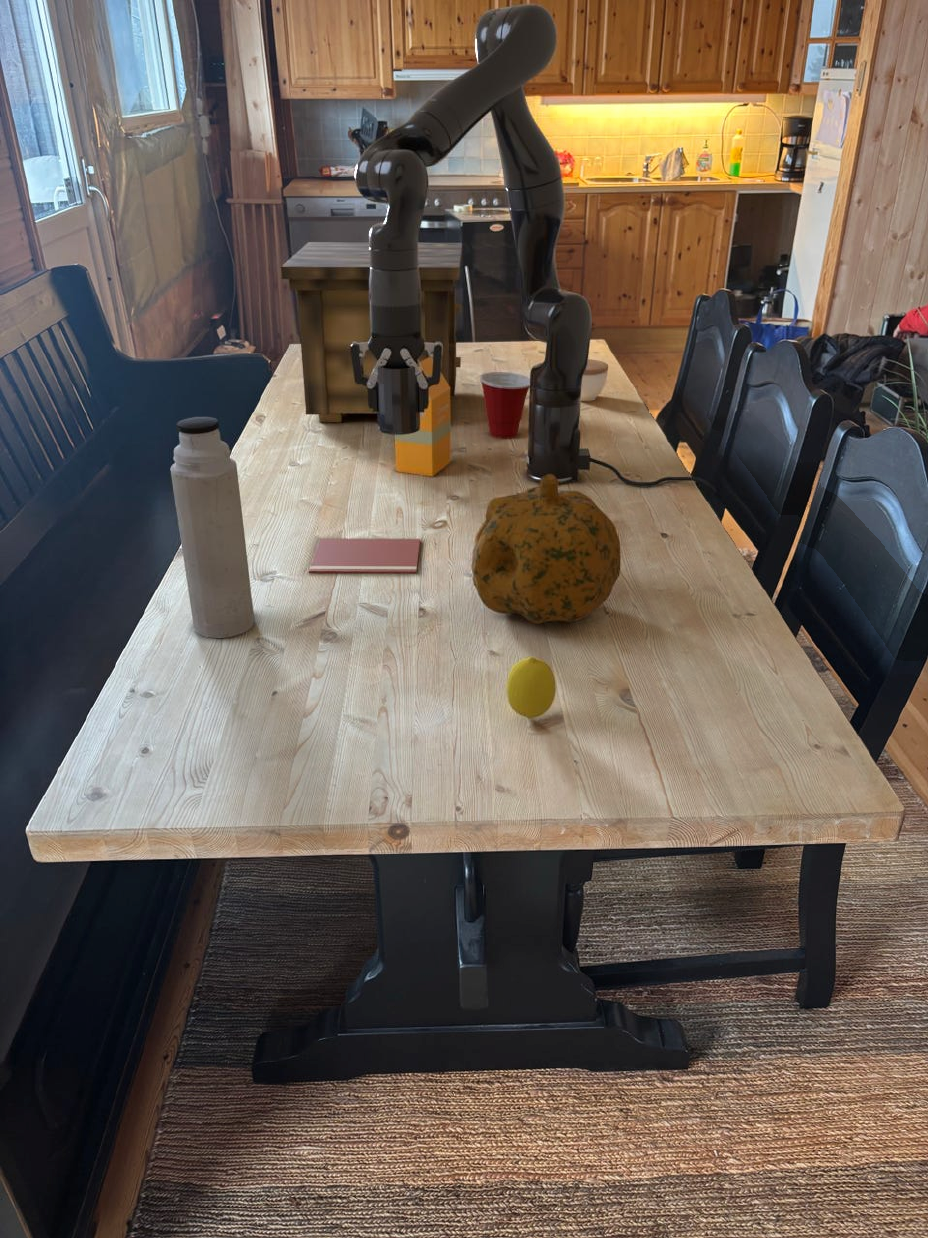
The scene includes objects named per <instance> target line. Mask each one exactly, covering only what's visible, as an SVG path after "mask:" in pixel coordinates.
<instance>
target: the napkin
mask: <svg viewBox="0 0 928 1238" xmlns="http://www.w3.org/2000/svg"><path fill="white" fill-rule="evenodd" d="M420 545H421V539H420V538H319V540H318V543H317V546H316V549H315V551H314V555H313V557H312V560H311V563H310V566H309V569H308V573H309V574H417V569H418V563H419V562H418V561H419V553H420Z"/></svg>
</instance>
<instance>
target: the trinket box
mask: <svg viewBox="0 0 928 1238" xmlns="http://www.w3.org/2000/svg"><path fill="white" fill-rule="evenodd" d="M608 370H609V364H608V363H607V362H605V361H601V360H597V359H592V358H591V359H589V358H588V363H587V367H586V370H585V372H584V374H583V377H582V387H581V402H591V401H594V400H596V399H597V397H598V396H599V395H600V394H601V393H602V392H603V391H604V389H605V387H606V384H607V379H608Z"/></svg>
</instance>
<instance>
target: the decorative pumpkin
mask: <svg viewBox="0 0 928 1238" xmlns="http://www.w3.org/2000/svg"><path fill="white" fill-rule="evenodd" d="M558 483H559V482H558V480H557V479H556V477H555V476H554V475H553V474H548V475H545V476H544V477H542V478H541V483H540V485H536V486H533V487H529V488H527V489H526V490H524V491H521V492H517V493H515V494H510V495H505V496H500V497H494V498H492V499H491V500H490V501H489V503H488V505H487V507H486V513H485V520H484V522H483V523H482V525H481V526H480V528H479V529H478V531H477V532H476V534H475V536H474V547H473V550H472V557H471V564H470V566H471V573H472V575H473V576H472V583H473V586H474V587H475V589H476V591H477V595H478V597H479V599H480V600H481V602H482V603H483V605H484V606H485V607H487V608H488V609H490V610H491V611H493V612H495V613H499V614H505V615H507V614H512V613H516V614H518V615H521V616H522V617H523V618H525V619H526V620H527V621H529V622H531V623H533V624H535V625H539V624H542V623H546V622H553V621H561V622H562V621H563V622H566V623H570V622H575V621H578V620H583V619H585V618H586V617H587V616H589V614H591V613H592V612H594V611H595V610H596V609H598V608H599V607H600V606H601V605H602V604H604V603H605V602H606V601H607V600H608V598H609V596H610V594H611V593H612V590H613V587H614V586H615V584H616V582H617V581H618V579H619V577H620V575H621V567H622V566H621V565H622V561H621V560H622V558H621V557H622V556H621V542H620V538H619V535H618V532H617V527H616V526H615V524H614V522H613V521H612V520H611V519H610V518H609V516H608V514H607V515H606V513H605V512H604V511H603V510H602V509H601V508H600V507H599V506H598V505H597V503H596V502H595V501H593V499H592V498H591V497H589V496H588V495H586V494H585V493H582V492H581V491H578V490H570V489H569V490H568V489H567V490H566V489H564V490H563V489H559V484H558Z"/></svg>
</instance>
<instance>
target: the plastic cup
mask: <svg viewBox="0 0 928 1238" xmlns="http://www.w3.org/2000/svg"><path fill="white" fill-rule="evenodd" d="M479 381H480V382H481V383H480V384H481V385H482V393H483V399H484V405H485V412H486V419H487V423H488V432H489V434H490V436H491V437H494V438H497V439H511V438H515V437H517V436H518V434H519V431H520V424H521V420H522V416H523V412H524V408H525V403H526V397H527V396H528V392H529V391H530V377H528V376H526V375H523V374H519V373H515V372H507V371H490V372H484V373H482V374H481V375H479Z"/></svg>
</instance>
